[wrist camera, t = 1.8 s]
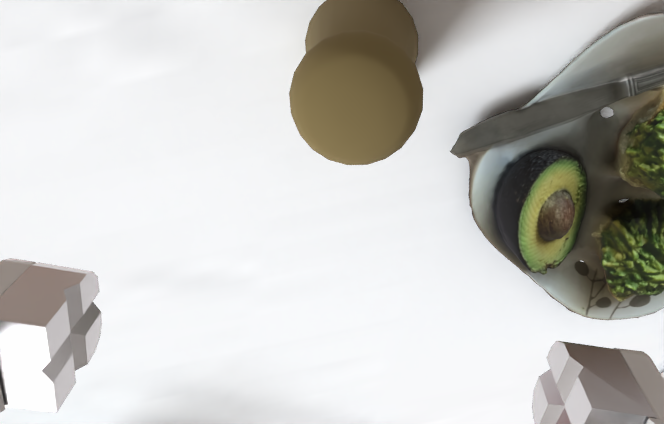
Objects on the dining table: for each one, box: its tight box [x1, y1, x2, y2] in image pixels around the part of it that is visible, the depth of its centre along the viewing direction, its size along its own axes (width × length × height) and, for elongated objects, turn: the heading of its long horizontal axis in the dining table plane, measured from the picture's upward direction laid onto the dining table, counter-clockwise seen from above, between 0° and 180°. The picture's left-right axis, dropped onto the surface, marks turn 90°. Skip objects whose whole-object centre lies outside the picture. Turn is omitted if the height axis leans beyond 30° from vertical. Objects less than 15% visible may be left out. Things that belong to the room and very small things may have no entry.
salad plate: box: [450, 13, 664, 320], centre depth 31 cm, size 19×18×5 cm
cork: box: [289, 0, 423, 165], centre depth 26 cm, size 6×6×11 cm
